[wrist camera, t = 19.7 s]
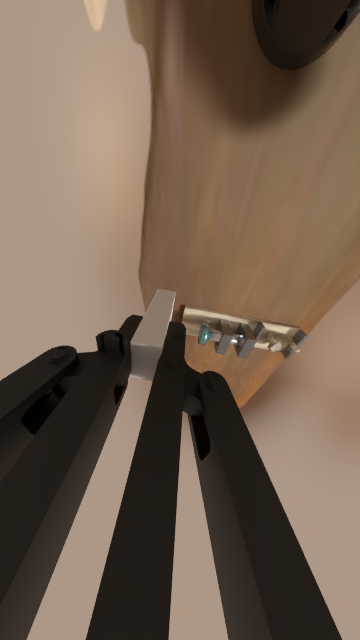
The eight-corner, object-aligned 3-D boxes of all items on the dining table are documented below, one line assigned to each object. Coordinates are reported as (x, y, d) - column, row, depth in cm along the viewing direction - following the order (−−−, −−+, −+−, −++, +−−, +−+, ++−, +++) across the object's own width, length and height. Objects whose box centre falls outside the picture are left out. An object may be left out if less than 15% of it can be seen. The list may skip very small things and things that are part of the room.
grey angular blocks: (220, 311, 46) (226, 330, 39) (298, 327, 47) (319, 347, 39) (211, 336, 52) (214, 356, 44) (281, 349, 53) (296, 371, 45)
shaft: (197, 334, 48) (198, 348, 43) (202, 318, 45) (204, 331, 40) (244, 343, 49) (250, 358, 44) (253, 328, 45) (261, 342, 40)
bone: (253, 346, 49) (277, 356, 39) (259, 327, 49) (284, 332, 39) (276, 352, 50) (304, 362, 40) (281, 333, 50) (311, 339, 40)
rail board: (185, 304, 46) (185, 307, 45) (298, 327, 47) (301, 329, 46) (179, 330, 52) (179, 333, 50) (281, 349, 53) (283, 352, 51)
